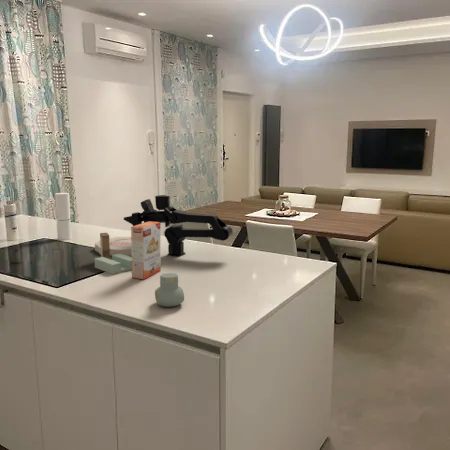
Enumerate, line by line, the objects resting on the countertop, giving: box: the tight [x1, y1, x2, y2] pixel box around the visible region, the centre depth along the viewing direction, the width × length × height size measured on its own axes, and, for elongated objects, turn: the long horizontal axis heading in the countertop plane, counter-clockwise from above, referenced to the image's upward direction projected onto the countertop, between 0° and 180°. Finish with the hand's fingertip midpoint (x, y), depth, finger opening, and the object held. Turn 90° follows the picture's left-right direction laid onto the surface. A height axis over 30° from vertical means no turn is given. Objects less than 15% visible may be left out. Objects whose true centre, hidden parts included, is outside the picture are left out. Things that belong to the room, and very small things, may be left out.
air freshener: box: [154, 272, 185, 308], centre depth 150 cm, size 11×8×10 cm
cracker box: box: [130, 221, 162, 280], centre depth 182 cm, size 14×6×21 cm, turn 160°
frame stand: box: [94, 254, 132, 275], centre depth 193 cm, size 14×12×4 cm
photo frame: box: [99, 232, 111, 259], centre depth 202 cm, size 6×3×12 cm, turn 24°
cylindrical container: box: [54, 192, 72, 241], centre depth 247 cm, size 7×7×25 cm
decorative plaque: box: [94, 236, 132, 257], centre depth 227 cm, size 30×4×30 cm
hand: (128, 217), depth 221 cm, fingers open, 9 cm apart
